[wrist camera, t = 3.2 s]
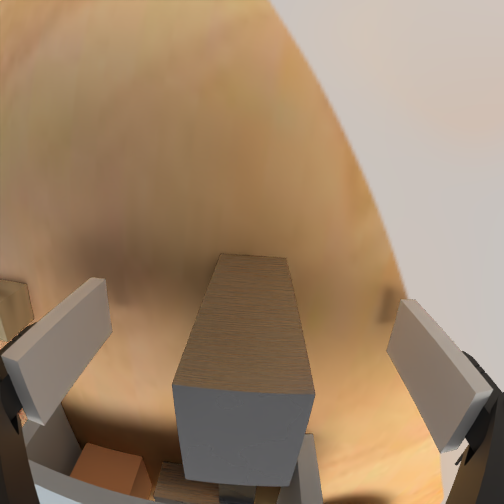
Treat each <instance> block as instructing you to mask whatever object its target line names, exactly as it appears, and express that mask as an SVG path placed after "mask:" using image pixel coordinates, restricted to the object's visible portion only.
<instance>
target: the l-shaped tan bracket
mask: <svg viewBox="0 0 504 504" xmlns="http://www.w3.org/2000/svg"><path fill="white" fill-rule="evenodd" d="M32 320H34V316H33V312H32V307H31V303H30V298H29V293H28V288H27V284H24V283H18V282H12V281H7V280H2V279H0V340H3V341H6V342H9V341H10V340H11V339H12V338H13V337H14V336H15V335H16V334H18V333H19V332H20V331H21V330H22V329H23V328H24V327H25V326H27V325H28V324H29V323H30V322H31V321H32Z"/></svg>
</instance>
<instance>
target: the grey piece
mask: <svg viewBox="0 0 504 504" xmlns="http://www.w3.org/2000/svg"><path fill="white" fill-rule="evenodd" d="M172 389H173V398H174V406H175V414H176V422H177V429H178V436H179V443H180V449H181V455H182V462H183V464H177V463H170V462H165V461H163V464H162V467H161V471H160V474H159V478H158V481H157V485H156V488H155V492H154V499H155V501H156V502H160V503H165V504H254V499H255V493H256V487H257V486H289V485H290V482H291V479H292V476H293V473H294V469H295V466H296V463H297V460H298V456H299V453H300V449H301V446H302V442H303V439H304V435H305V432H306V428H307V425H308V421H309V417H310V413H311V409H312V405H313V402H314V398H315V390H314V385H313V380H312V375H311V370H310V365H309V360H308V355H307V350H306V346H305V341H304V336H303V331H302V327H301V322H300V318H299V313H298V308H297V304H296V299H295V295H294V290H293V286H292V281H291V277H290V273H289V268H288V264H287V259H286V258H277V257H262V256H248V255H233V254H220V257H219V259H218V262H217V265H216V267H215V270H214V272H213V275H212V278H211V280H210V283H209V285H208V288H207V291H206V293H205V296H204V299H203V301H202V304H201V306H200V309H199V312H198V314H197V317H196V320H195V322H194V325H193V328H192V331H191V333H190V336H189V339H188V341H187V344H186V347H185V350H184V352H183V355H182V358H181V361H180V363H179V366H178V369H177V372H176V374H175V377H174V380H173V383H172Z"/></svg>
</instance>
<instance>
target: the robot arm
mask: <svg viewBox="0 0 504 504" xmlns="http://www.w3.org/2000/svg"><path fill="white" fill-rule="evenodd" d="M111 333H112V325H111V318H110V311H109V304H108V296H107V287H106V279H102V278H94V277H91V278H90V279H89V280H87V281H86V282H85V283H84V284H82V285H81V286H80V287H79V288H77V289H76V290H75V291H74V292H73V293H71V294H70V295H69V296H68V297H67V298H65V299H64V300H63V301H62V302H61V303H59V304H58V305H57V306H56V307H55V308H53V309H52V310H51V311H50V312H49V313H48V314H46V315H45V316H44V317H43V318H42V319H41V320H39V321H38V322H36V323H34V324H32V325H30V326H27V327H26V328H24V329H23V330H22V331H21V332H20V333H19V334H18V336H17V335H16V336H15V337H14V338H13V339H12V341H10V342H9V343H7V344H6V345H5V346H4V347H3V348H2V349H1V350H0V504H40V502H39V498H38V495H37V492H36V488H35V485H34V481H33V477H32V473H31V469H30V465H29V461H28V457H27V452H26V447H25V442H24V437H23V431H22V425H21V420H20V418H19V415H18V412H19V411H20V409H21V408H23V410H24V412H25V414H26V416H27V418H28V419H29V420H31V421H34V422H36V423H38V424H41V425H43V426H45V424H46V423H47V421H48V420H49V418H50V417H51V415H52V414H53V413H54V411H55V410H56V408H57V407H58V405H59V404H60V403H61V401H62V400H63V398H64V397H65V395H66V394H67V393H68V391H69V390H70V388H71V387H72V386H73V384H74V383H75V381H76V380H77V379H78V377H79V376H80V375H81V373H82V372H83V371H84V369H85V368H86V366H87V365H88V364H89V362H90V361H91V360H92V358H93V357H94V356H95V354H96V353H97V352H98V350H99V349H100V348H101V346H102V345H103V344H104V342H105V341H106V340H107V338H108V337H109V336H110V335H111ZM387 353H388V355H389V357H390V358H391V360H392V362H393V364H394V365H395V367H396V369H397V371H398V373H399V375H400V376H401V378H402V380H403V382H404V384H405V386H406V387H407V389H408V391H409V393H410V395H411V397H412V399H413V401H414V402H415V404H416V406H417V408H418V410H419V412H420V414H421V416H422V418H423V420H424V422H425V424H426V426H427V428H428V430H429V432H430V434H431V436H432V438H433V440H434V442H435V444H436V446H437V448H438V450H439V452H440V453H445V452H448V451H452V450H456V449H458V447H459V446H460V444H461V443H462V441H463V440H464V438H466V440H467V441H468V443H469V445H468V446H467V448H466V449H465V451H464V452H463V454H462V455H461V456H460V457H459V459H458V460H457V462H456V463H455V465H458V464H459V462H460V461H461V464H460V467H459V470H458V473H457V475H456V478H455V481H454V484H453V486H452V489H451V491H450V494H449V496H448V499H447V501H446V504H504V392H503V393H502V392H501V390H500V389H499V388H498V387H497V385H496V384H495V383H494V382H493V381H492V379H491V378H490V377H489V376H488V375H487V373H485V371H484V370H483V369H482V367H480V365H479V364H478V363H477V361H476V360H475V359H474V358H473V357H472V356H470V355H469V354H467V353H466V352H464V351H461V350H460V349H459V348H458V347H457V346H456V344H455V343H454V342H453V341H452V340H451V339H450V337H449V336H448V335H447V334H446V333H445V332H444V331H443V330H442V329H441V327H440V326H439V325H438V324H437V323H436V322H435V321H434V320H433V319H432V317H431V316H430V315H429V314H428V313H427V312H426V311H425V310H424V309H423V308H422V307H421V306H420V304H419V303H418V302H417V301H416V300H410V299H401V300H400V304H399V308H398V312H397V316H396V319H395V323H394V327H393V330H392V334H391V337H390V341H389V344H388V347H387Z"/></svg>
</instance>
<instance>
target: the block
mask: <svg viewBox="0 0 504 504" xmlns="http://www.w3.org/2000/svg"><path fill="white" fill-rule="evenodd" d="M69 477H72V478H75V479H77V480H80V481H83V482H86V483H89V484H92V485H95V486H98V487H101V488H104V489H108V490H111V491H115V492H118V493H122V494H126V495H130V496H134V497H138V498H142V499H146V500H148V499H149V495H150V492H151V488H152V484H151V481H150V478H149V475H148V473H147V470H146V466H145V463H144V460H143V457H141V456H136V455H132V454H128V453H124V452H120V451H116V450H112V449H108V448H104V447H101V446H97V445H94V444H91V443H86V445H85V447H84V449H83V451H82V453H81V454H80V456H79V458H78V460H77V462H76V464H75V466H74V468H73V470H72V472H71V474H70V476H69Z"/></svg>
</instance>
